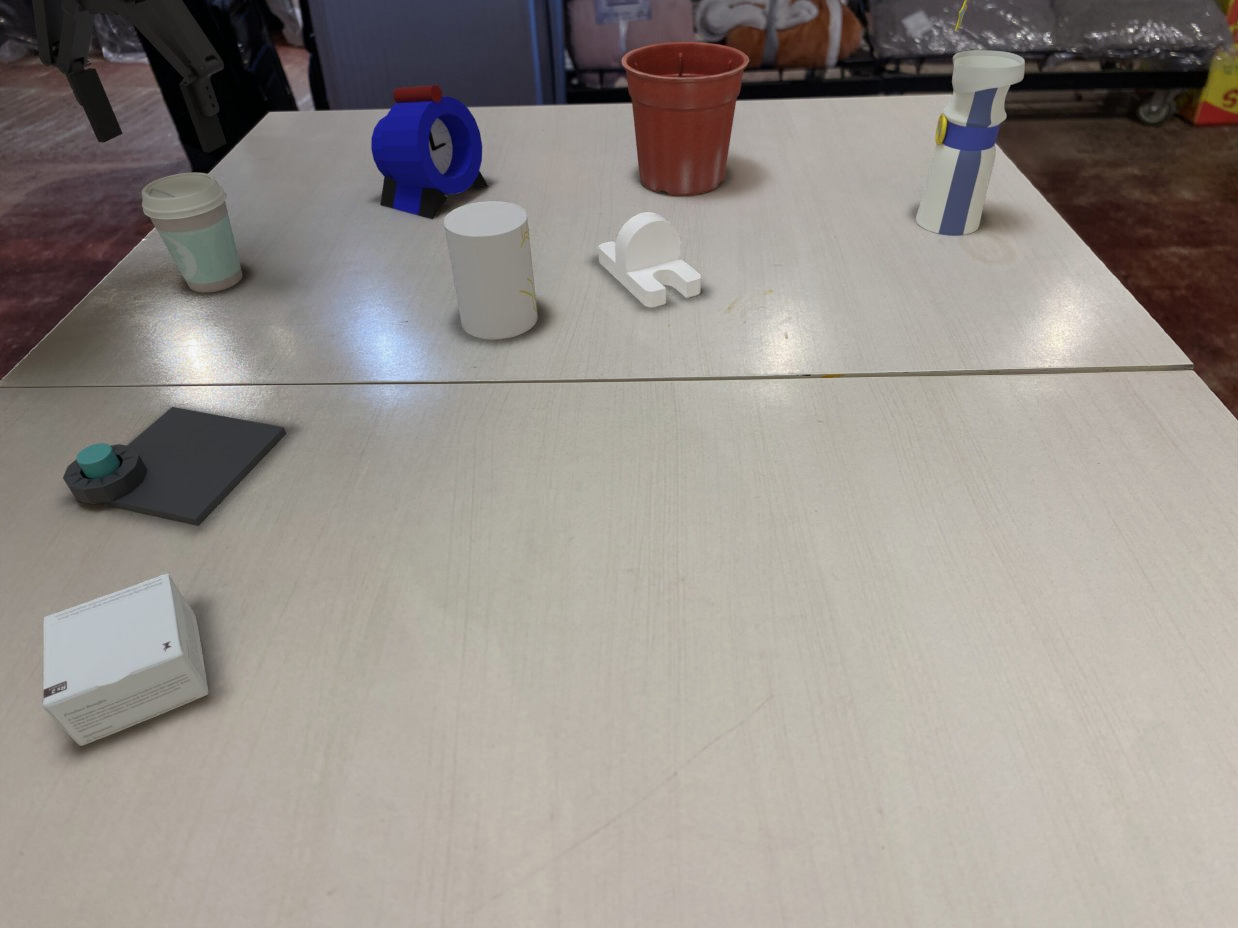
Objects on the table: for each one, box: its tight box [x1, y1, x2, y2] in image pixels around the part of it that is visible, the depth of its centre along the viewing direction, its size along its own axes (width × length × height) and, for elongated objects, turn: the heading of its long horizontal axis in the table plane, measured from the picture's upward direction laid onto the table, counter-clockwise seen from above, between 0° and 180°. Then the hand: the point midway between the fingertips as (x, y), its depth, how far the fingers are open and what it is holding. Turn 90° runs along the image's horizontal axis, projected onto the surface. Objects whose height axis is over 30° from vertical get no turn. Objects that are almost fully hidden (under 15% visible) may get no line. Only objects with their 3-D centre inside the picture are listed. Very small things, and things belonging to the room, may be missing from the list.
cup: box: [443, 200, 539, 340], centre depth 83 cm, size 8×8×12 cm
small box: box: [42, 572, 209, 747], centre depth 52 cm, size 8×8×5 cm
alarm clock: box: [370, 84, 490, 220], centre depth 108 cm, size 12×12×15 cm
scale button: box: [75, 442, 120, 479], centre depth 65 cm, size 3×3×2 cm
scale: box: [62, 406, 287, 526], centre depth 68 cm, size 13×13×3 cm
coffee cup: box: [141, 172, 243, 293], centre depth 91 cm, size 8×9×12 cm
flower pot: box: [621, 41, 750, 197], centre depth 110 cm, size 16×16×16 cm
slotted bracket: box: [597, 211, 702, 308], centre depth 90 cm, size 13×7×8 cm, turn 27°
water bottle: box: [915, 0, 1026, 236], centre depth 94 cm, size 8×9×25 cm
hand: (162, 143), depth 84 cm, fingers open, 12 cm apart
